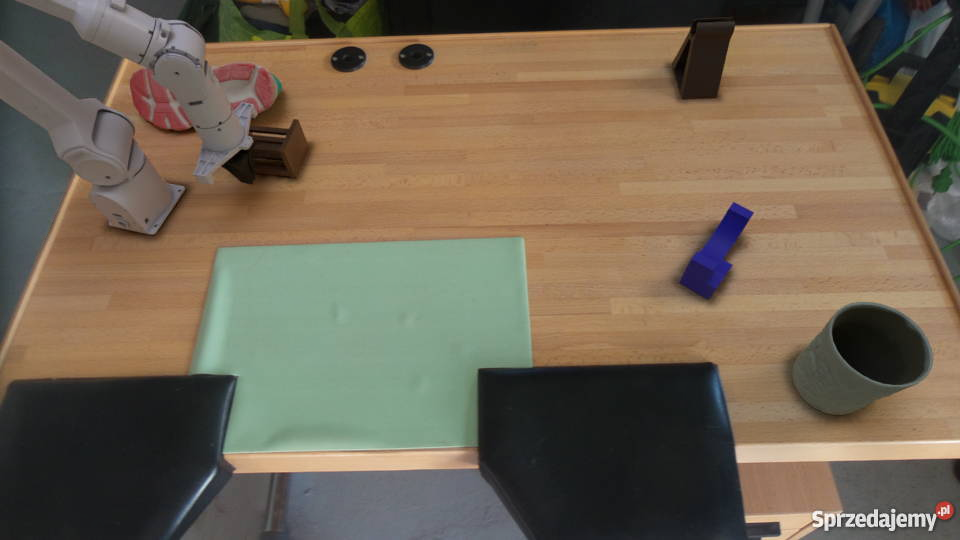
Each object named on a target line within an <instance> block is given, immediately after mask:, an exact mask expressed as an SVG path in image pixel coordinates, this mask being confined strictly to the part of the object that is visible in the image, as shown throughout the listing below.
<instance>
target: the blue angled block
mask: <svg viewBox="0 0 960 540" xmlns="http://www.w3.org/2000/svg"><path fill="white" fill-rule="evenodd" d="M754 214H755V212H754V211H752V210H750V209H748V208H746V207H745V206H742V205H741V204H739V203H737V202H735V201H733V202H732V203H731V204H730V206H729V207H728V209H727V211H726V212H725V214H724V216H723V217H722V219H721V220H720V222H719V224H718V225H717V227H716V228H715V230H714V231H713V233H712V235H711V236H710V237H709V239H708V241H707V242H706V243H705V244H704V246H703V248H702V249H701V250H700V251H698V250H697V251H696V252H695V253H694V255H693V256H692V257H691V258H690V261H689V263H688V265H687V266H686V268H685V270H684V272H683V274H682V275H681V278H680V279H679V281H678V283H679V284H681V285H682V286H684V287H685V288H687V289H689V290H691V291H692V292H694V293H696V294H698V295H699V296H700V297H702V298H705V299H706V300H708V301H710V299H711V298H712V296H713V295H714V293H715V292H716V290H717V289H718V287H719V286H720V285H721V283H722V282H723V280H724V279H725V278H726V276H727V275H728V273H729V271H730V270H731V268H733V264H732V263H731V262H728V261H726V260H725V258H726V256H727V255H728V254H729V252H730V251H731V249H732V248H733V246H734V245H735V243H736V242H737V240H739V238H740V236H741V234H742V233H743V231H744V230H745V228H746V227H747V225H748V223H749V221H750V220H751V218H752V217H753V215H754Z"/></svg>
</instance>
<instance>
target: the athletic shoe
mask: <svg viewBox="0 0 960 540" xmlns="http://www.w3.org/2000/svg"><path fill="white" fill-rule="evenodd" d="M210 66H211V68H212V70H213V72H214V74H215V76H216V77H217V79H218V81H219V83H220V85H221V87H222V89H223V91H224V93H225V95H226V96H227V98H228V100H229V102H230V104H231V106H232V108H233V110H235V109H236V108H237V107H238V106H239V105H240V104H241V103H242V102H243V103H249V104H254V106H255V109H256V111H257V113H258V115H259V114H262V113H263V112H265V111H267V110H268V109H270V108H271V107H272V106H273V105H274V103H275V101H276V100H277V98H278V97H279V95H280V94H281V92H282V89H283V83H282V82H281V80H280V79H279V78H278V77H276V75H274V74H273V73H272V72H271V71H269V70H268V69H267V68H266V67H264V66H262V65H259V64H256V63H254V62H252V61H233V62H229V63H226V64H223V65H210ZM152 75H153V71H152V70H150V69H148V68H145V67H143V66H142V67H141V68H138V70H135V71H134V72H133V73H132V75H131V77H130V79H129V89H130V93H131V98H132V99H131V100H132V104H133V107H134V108H135V110H136V112H137V113H138V114H139V115H140V116H141V117H142V118H144V119H145V120H146V121H147V122H149V123H151V124H153V125H154V126H156V127H157V128H160V129H162V130H167V131H168V130H173V131H186V130H189V129H192V127H193V125H192V124H191V122H190V120H189V119H188V117H187V116H186V114H185V112H184V111H183V109H182V107H181V106H180V104H179V103H178V101H177V99H176V98H175V96H174V94H173V93H172V92H171V91H170V90H168V89H166V88H164V87H162V86H161V85H159V84H158V83H157V82H156V81H155V80H154V79H153V78H152Z"/></svg>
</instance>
